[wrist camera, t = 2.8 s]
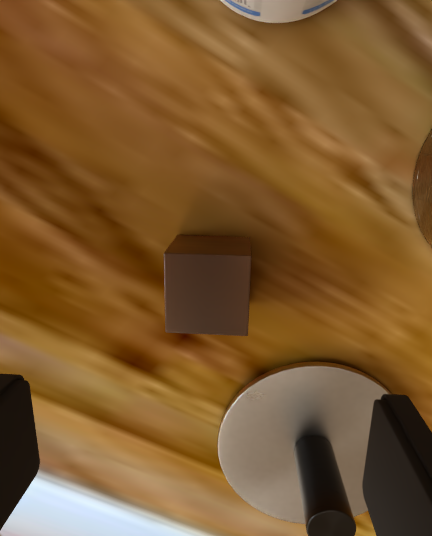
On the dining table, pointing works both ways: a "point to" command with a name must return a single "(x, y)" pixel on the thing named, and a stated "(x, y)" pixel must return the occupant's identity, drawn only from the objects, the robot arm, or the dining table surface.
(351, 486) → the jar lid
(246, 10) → the supplement tub
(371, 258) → the dining table surface
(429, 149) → the steel jar
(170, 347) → the dining table surface
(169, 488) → the dining table surface
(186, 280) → the walnut block
